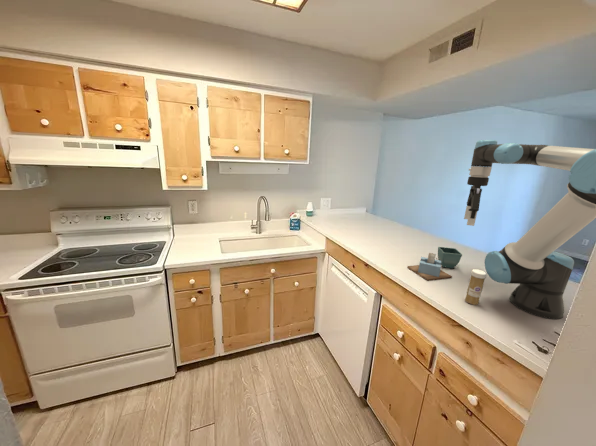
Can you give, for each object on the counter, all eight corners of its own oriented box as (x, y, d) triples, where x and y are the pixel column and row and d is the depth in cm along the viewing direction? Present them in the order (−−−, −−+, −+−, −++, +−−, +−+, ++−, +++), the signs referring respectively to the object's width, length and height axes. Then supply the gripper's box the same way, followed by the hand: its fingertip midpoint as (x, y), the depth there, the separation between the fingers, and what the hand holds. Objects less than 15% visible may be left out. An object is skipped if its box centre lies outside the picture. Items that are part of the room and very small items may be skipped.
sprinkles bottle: (469, 305, 94) (477, 273, 91) (462, 298, 99) (469, 268, 95) (481, 305, 94) (489, 274, 91) (473, 298, 99) (480, 268, 95)
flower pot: (459, 270, 124) (462, 254, 121) (440, 268, 125) (443, 252, 123) (452, 263, 132) (455, 248, 130) (434, 261, 134) (437, 246, 131)
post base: (451, 278, 115) (456, 258, 113) (427, 281, 112) (431, 261, 109) (429, 265, 128) (433, 248, 126) (407, 267, 125) (410, 249, 122)
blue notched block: (439, 269, 121) (441, 260, 120) (439, 277, 114) (441, 267, 113) (419, 265, 126) (421, 256, 125) (418, 272, 118) (419, 262, 117)
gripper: (466, 174, 121) (457, 216, 126) (472, 177, 99) (461, 226, 105) (484, 175, 117) (474, 218, 123) (494, 178, 96) (482, 229, 101)
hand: (468, 222), depth 114 cm, fingers open, 13 cm apart
